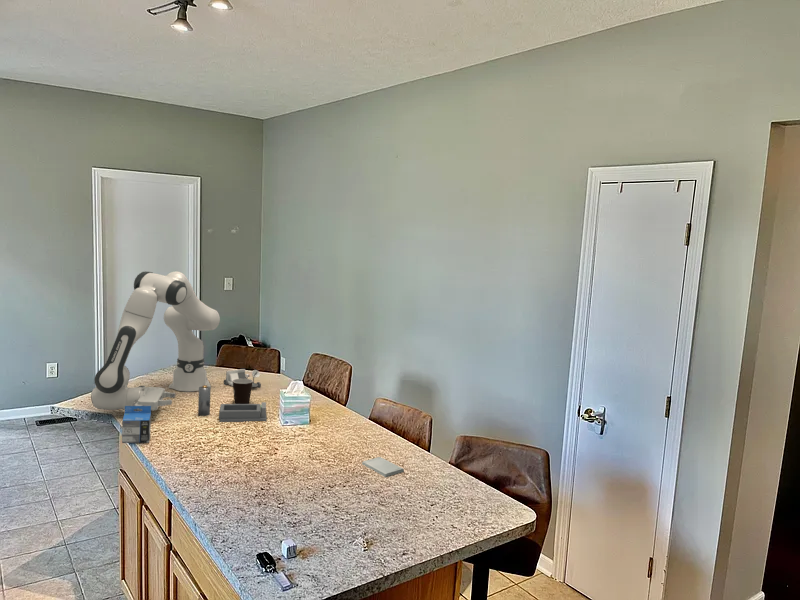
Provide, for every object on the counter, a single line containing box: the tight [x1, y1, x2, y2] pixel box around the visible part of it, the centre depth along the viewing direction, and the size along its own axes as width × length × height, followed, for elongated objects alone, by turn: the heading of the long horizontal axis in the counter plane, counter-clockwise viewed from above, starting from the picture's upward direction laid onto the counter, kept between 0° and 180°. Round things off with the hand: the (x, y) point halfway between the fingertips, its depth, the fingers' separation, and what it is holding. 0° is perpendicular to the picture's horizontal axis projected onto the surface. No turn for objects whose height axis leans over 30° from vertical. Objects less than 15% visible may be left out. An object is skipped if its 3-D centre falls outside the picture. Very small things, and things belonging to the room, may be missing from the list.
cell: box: [197, 385, 212, 417], centre depth 235 cm, size 5×5×12 cm
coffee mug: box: [232, 378, 253, 404], centre depth 256 cm, size 12×9×10 cm
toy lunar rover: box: [222, 368, 262, 389], centre depth 281 cm, size 18×10×12 cm
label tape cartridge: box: [121, 406, 152, 444], centre depth 202 cm, size 9×4×12 cm, turn 105°
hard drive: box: [361, 456, 405, 478], centre depth 194 cm, size 2×8×12 cm
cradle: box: [218, 401, 267, 423], centre depth 236 cm, size 12×18×5 cm, turn 104°
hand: (173, 398), depth 233 cm, fingers open, 8 cm apart
